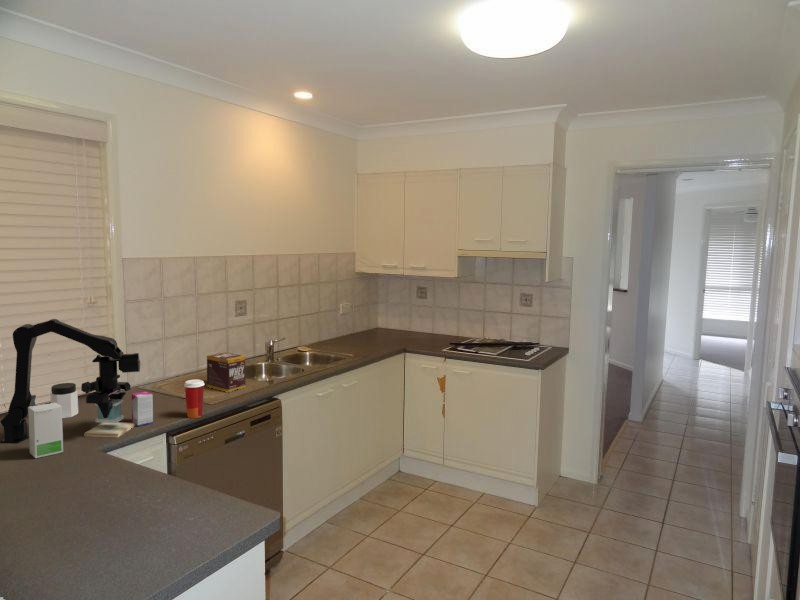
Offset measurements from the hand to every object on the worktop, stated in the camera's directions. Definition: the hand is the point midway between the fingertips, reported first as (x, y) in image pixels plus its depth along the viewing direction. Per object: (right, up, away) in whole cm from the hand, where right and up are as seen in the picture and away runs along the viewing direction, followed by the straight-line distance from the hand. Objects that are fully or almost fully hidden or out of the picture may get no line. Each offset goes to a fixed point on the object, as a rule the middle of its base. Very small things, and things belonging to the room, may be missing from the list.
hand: (109, 415), depth 196 cm
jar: (-26, -4, +16) cm, 31 cm away
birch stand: (0, -6, +1) cm, 6 cm away
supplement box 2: (+23, 0, +60) cm, 64 cm away
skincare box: (-10, -8, -20) cm, 24 cm away
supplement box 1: (+7, -5, +9) cm, 13 cm away
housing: (0, -2, 0) cm, 2 cm away
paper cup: (+24, -4, +19) cm, 31 cm away
